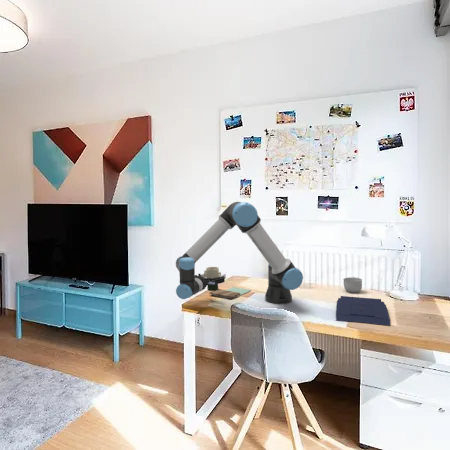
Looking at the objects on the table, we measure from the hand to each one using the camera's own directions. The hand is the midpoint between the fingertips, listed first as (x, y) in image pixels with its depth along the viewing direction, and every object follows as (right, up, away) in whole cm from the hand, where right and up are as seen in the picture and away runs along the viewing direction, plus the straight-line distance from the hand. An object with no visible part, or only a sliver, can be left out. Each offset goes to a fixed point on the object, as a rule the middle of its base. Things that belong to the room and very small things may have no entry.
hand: (215, 275), depth 209 cm
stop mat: (+13, -12, +16) cm, 24 cm away
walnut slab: (+5, -13, +7) cm, 16 cm away
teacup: (+84, -12, +16) cm, 87 cm away
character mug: (-2, -8, -3) cm, 9 cm away
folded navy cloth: (+74, -16, -25) cm, 80 cm away
